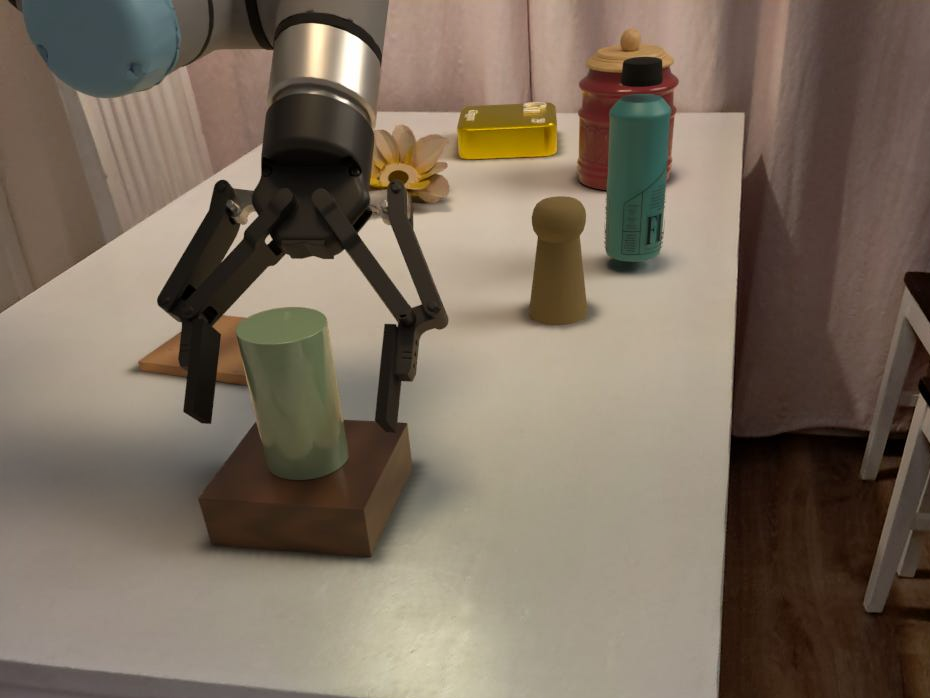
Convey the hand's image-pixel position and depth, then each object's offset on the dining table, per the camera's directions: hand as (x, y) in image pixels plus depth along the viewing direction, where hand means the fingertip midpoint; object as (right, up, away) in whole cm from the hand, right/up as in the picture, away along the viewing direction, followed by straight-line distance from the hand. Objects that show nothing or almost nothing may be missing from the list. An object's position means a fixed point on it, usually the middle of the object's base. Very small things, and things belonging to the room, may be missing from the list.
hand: (289, 422), depth 63 cm
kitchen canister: (+33, +49, +65) cm, 88 cm away
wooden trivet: (-12, +14, +28) cm, 34 cm away
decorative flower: (+2, +44, +62) cm, 76 cm away
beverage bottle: (+30, +27, +41) cm, 58 cm away
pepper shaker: (+21, +18, +32) cm, 42 cm away
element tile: (+17, +63, +82) cm, 104 cm away
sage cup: (+1, -2, +4) cm, 4 cm away
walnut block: (+1, -5, +7) cm, 8 cm away
